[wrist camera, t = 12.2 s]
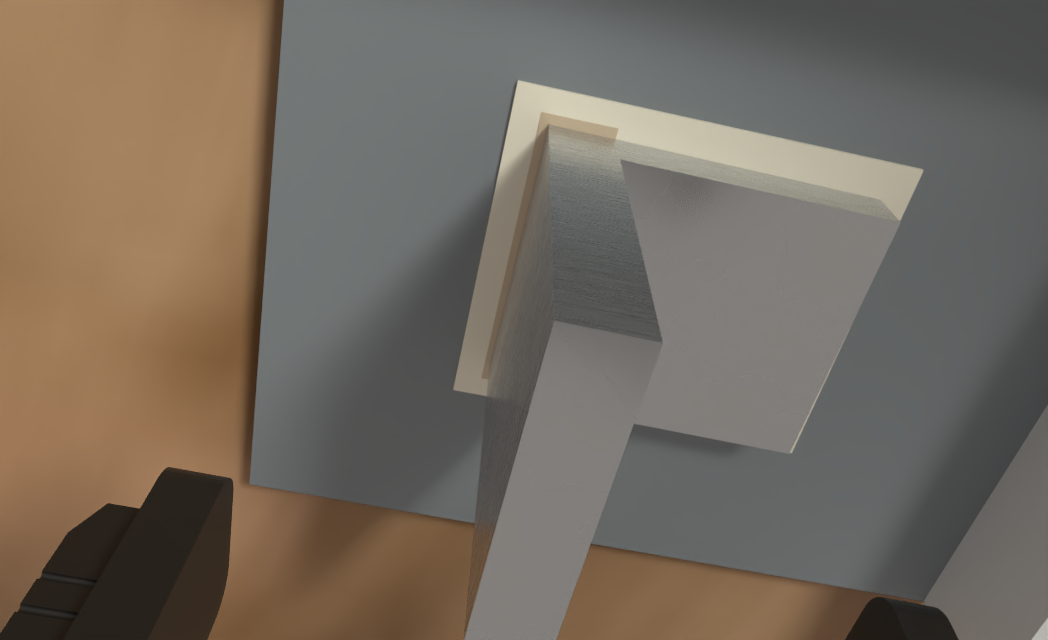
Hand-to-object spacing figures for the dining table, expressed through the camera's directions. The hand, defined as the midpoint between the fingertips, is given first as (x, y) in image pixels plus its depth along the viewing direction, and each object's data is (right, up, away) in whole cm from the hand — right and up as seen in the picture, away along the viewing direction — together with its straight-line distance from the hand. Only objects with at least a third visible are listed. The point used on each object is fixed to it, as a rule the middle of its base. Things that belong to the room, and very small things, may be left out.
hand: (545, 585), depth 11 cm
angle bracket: (+3, +4, +9) cm, 10 cm away
